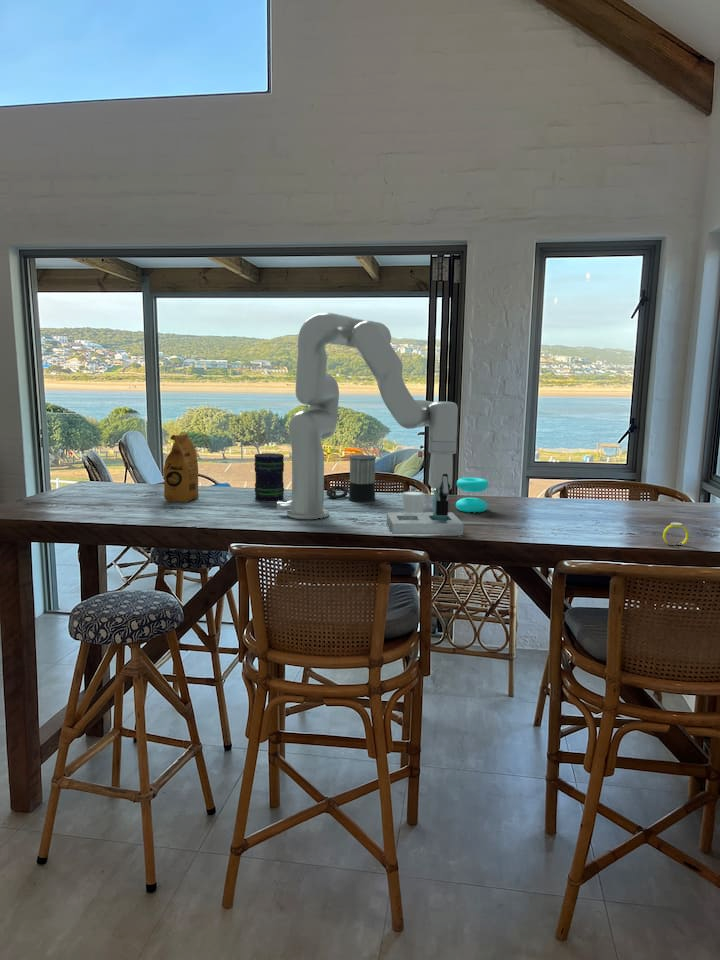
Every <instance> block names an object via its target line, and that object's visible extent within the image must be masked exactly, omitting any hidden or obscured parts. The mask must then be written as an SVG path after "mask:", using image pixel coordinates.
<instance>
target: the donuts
mask: <svg viewBox="0 0 720 960" xmlns="http://www.w3.org/2000/svg"><path fill="white" fill-rule="evenodd" d="M456 487H457V488H458V489H460V490H461V491H465V492H470V493H478V492H483V491H485V490H487V489H488V487H489V481H488V480H487V479H484V478H480V477H473V476H471V477H461V478H459V479H458V480H456ZM455 508H456V509H457V510H458V511H460V512H464V513H470V512H473V513H476V512H478V513H483V512H485V511H486V510H488V503H487V502H486V501H485V499H484V500H483V499H482V498H479V497H463V498H460V499H458V500H457V501H456V502H455ZM473 513H472V514H473Z"/></svg>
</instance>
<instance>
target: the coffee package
mask: <svg viewBox="0 0 720 960" xmlns="http://www.w3.org/2000/svg"><path fill="white" fill-rule="evenodd" d="M170 440H172V441H173V442H174V443H173V444H172V447H171V451H170V452H169V454H168V455H167V457H166V459H165V460H164V464H163V465H164V466H163V480H164V481H163V482H164V483H163V487H164V494H163V498H164V500H165V501H166V502H168V503H170V502H171V503H181V502H182V503H183V502H187V503H189V502H190V501H191V500H193V499H195V500H197V498H198V497H199V496H200V494H199V463H198V455H197V450H196V448H195V445H194V444H193V442H192V440H191V439H190V437H189V435H188V433H187V432H186V431H184V432H182V433H181V434H172V435H171V436H170Z"/></svg>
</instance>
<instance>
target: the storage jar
mask: <svg viewBox="0 0 720 960" xmlns="http://www.w3.org/2000/svg"><path fill="white" fill-rule="evenodd" d="M284 456H285V455H284V454H282V453H275V452H274V453H273V452H272V453H270V452H269V453H267V452H266V453H257V454H254V472H255V482H254V496H255V497H254V500H255V501H257V500H258V502H263V501H265V503H266V502H267V501H275V502H279V501H278V500H281V501H283V500H284V495H285V493H284V492H285V487H284V485H285V483H284V471H285V469H284V468H285V462H284ZM267 503H268V502H267Z"/></svg>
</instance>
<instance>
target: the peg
mask: <svg viewBox="0 0 720 960" xmlns="http://www.w3.org/2000/svg"><path fill="white" fill-rule="evenodd" d="M448 486H449V485H448ZM440 489H443V487H440ZM440 493H441V492H440ZM433 497H434V500H433V499H432V512H433V520H447V516H448V515H436V501H438V488H437V489H436V490H434V489H433Z"/></svg>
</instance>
